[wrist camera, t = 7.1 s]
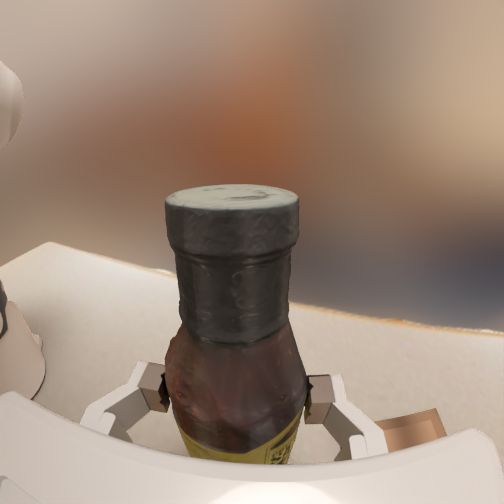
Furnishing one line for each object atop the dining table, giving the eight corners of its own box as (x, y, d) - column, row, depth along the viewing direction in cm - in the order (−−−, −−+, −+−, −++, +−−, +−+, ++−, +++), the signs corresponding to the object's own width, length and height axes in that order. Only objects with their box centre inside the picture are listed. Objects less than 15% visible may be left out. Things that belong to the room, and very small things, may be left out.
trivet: (350, 531, 11) (353, 530, 11) (338, 429, 22) (340, 425, 22) (460, 493, 10) (465, 490, 10) (432, 411, 21) (436, 407, 21)
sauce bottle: (280, 506, 12) (387, 242, 4) (193, 498, 13) (64, 230, 5) (282, 438, 18) (323, 181, 10) (207, 432, 19) (169, 178, 11)
